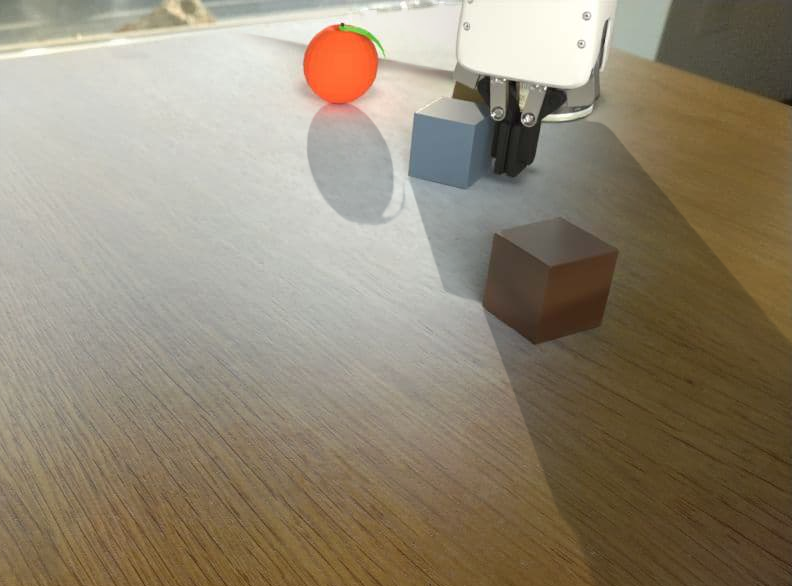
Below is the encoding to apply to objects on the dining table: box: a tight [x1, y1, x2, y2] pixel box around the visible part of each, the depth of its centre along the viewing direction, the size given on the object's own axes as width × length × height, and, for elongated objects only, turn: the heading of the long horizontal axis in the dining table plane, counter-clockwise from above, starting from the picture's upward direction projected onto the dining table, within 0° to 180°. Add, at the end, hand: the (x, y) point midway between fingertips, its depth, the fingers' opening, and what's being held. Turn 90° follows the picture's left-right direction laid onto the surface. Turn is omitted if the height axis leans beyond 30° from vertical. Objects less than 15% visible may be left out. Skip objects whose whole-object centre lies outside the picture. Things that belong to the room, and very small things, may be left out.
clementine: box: [302, 22, 387, 105], centre depth 90 cm, size 8×7×7 cm
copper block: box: [482, 216, 620, 345], centre depth 58 cm, size 5×5×5 cm
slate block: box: [407, 95, 495, 190], centre depth 77 cm, size 5×5×5 cm
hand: (510, 169), depth 75 cm, fingers closed
